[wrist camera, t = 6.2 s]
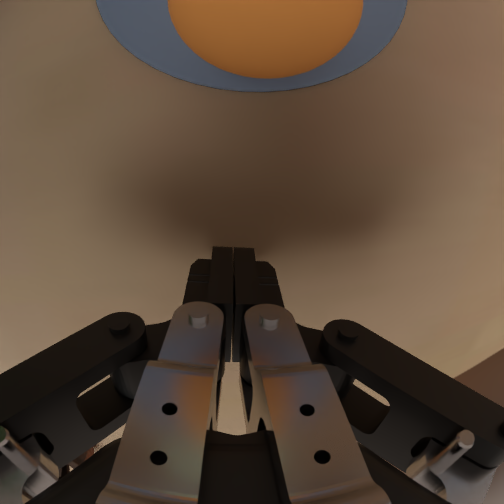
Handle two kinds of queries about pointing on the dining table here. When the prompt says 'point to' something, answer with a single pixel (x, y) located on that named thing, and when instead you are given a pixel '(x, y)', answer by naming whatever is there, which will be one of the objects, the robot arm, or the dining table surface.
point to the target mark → (203, 73)
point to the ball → (266, 33)
